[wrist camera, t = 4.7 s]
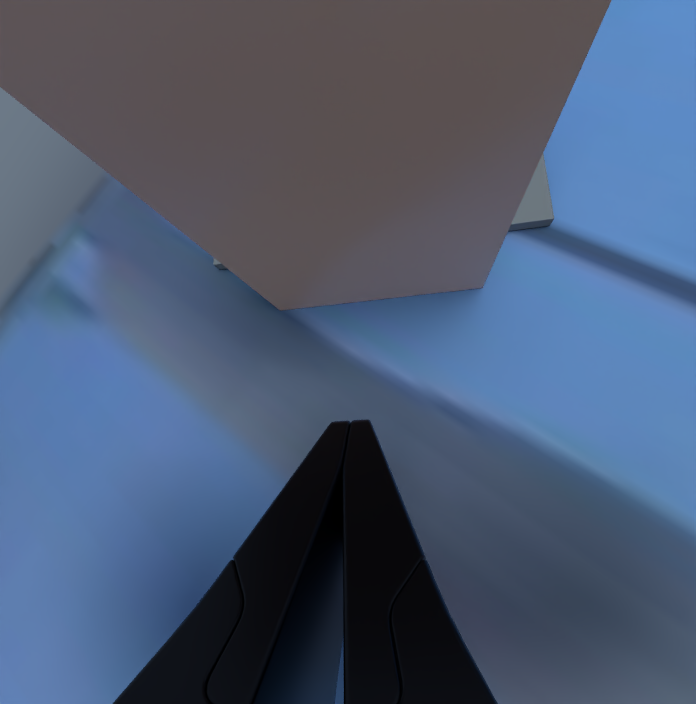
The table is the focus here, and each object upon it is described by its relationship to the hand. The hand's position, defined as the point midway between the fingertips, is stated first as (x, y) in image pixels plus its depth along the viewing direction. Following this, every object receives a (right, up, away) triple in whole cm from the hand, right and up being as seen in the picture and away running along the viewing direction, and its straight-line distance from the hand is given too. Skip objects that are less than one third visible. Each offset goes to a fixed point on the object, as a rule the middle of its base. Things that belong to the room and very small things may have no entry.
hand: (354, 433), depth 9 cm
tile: (+1, +5, +9) cm, 11 cm away
